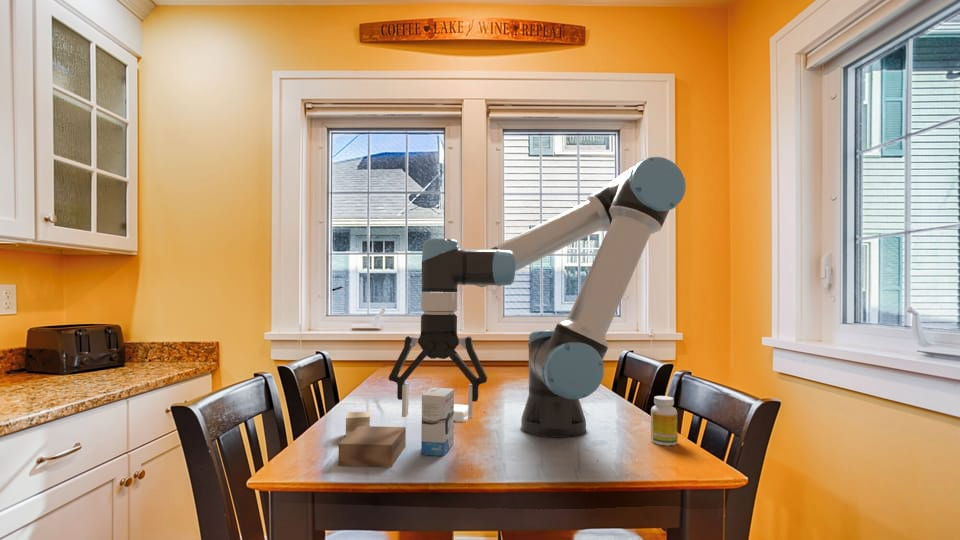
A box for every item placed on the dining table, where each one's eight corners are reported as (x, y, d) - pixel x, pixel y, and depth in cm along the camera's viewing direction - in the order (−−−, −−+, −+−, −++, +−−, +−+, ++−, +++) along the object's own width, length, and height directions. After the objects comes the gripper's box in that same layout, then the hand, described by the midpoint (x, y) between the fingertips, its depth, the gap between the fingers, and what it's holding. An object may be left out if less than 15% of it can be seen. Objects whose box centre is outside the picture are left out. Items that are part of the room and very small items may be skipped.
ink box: (444, 456, 96) (444, 396, 96) (419, 455, 97) (420, 395, 97) (454, 443, 104) (455, 387, 105) (432, 442, 105) (433, 386, 106)
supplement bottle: (647, 438, 108) (646, 395, 109) (671, 438, 108) (670, 394, 109) (657, 446, 103) (656, 400, 103) (682, 446, 103) (681, 400, 103)
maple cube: (369, 433, 112) (370, 411, 112) (369, 440, 107) (369, 416, 107) (347, 434, 111) (347, 412, 111) (345, 441, 106) (345, 418, 106)
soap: (465, 423, 121) (465, 412, 122) (439, 422, 123) (439, 410, 123) (474, 414, 130) (474, 403, 130) (449, 413, 132) (449, 402, 132)
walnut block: (405, 446, 102) (405, 427, 102) (391, 466, 90) (391, 444, 90) (358, 445, 103) (358, 426, 103) (338, 465, 91) (338, 443, 91)
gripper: (499, 313, 105) (498, 413, 104) (384, 311, 106) (382, 410, 105) (498, 314, 97) (497, 422, 96) (375, 313, 99) (373, 419, 98)
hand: (437, 416), depth 101 cm, fingers open, 13 cm apart
